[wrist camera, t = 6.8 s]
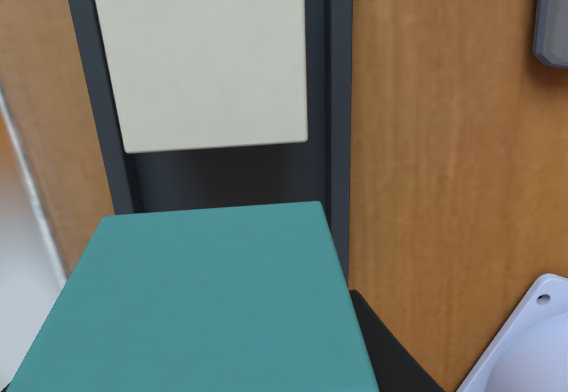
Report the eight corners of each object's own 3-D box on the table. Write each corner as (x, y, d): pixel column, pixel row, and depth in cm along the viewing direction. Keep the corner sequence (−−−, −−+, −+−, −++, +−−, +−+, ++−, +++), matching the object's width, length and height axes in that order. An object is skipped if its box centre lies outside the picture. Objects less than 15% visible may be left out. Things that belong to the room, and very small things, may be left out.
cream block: (291, 93, 15) (308, 143, 11) (158, 101, 15) (124, 155, 11) (284, -99, 13) (302, -127, 9) (127, -92, 13) (70, -117, 8)
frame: (340, 270, 18) (348, 297, 17) (145, 285, 18) (136, 313, 17) (343, -162, 12) (355, -178, 11) (56, -150, 12) (30, -165, 11)
